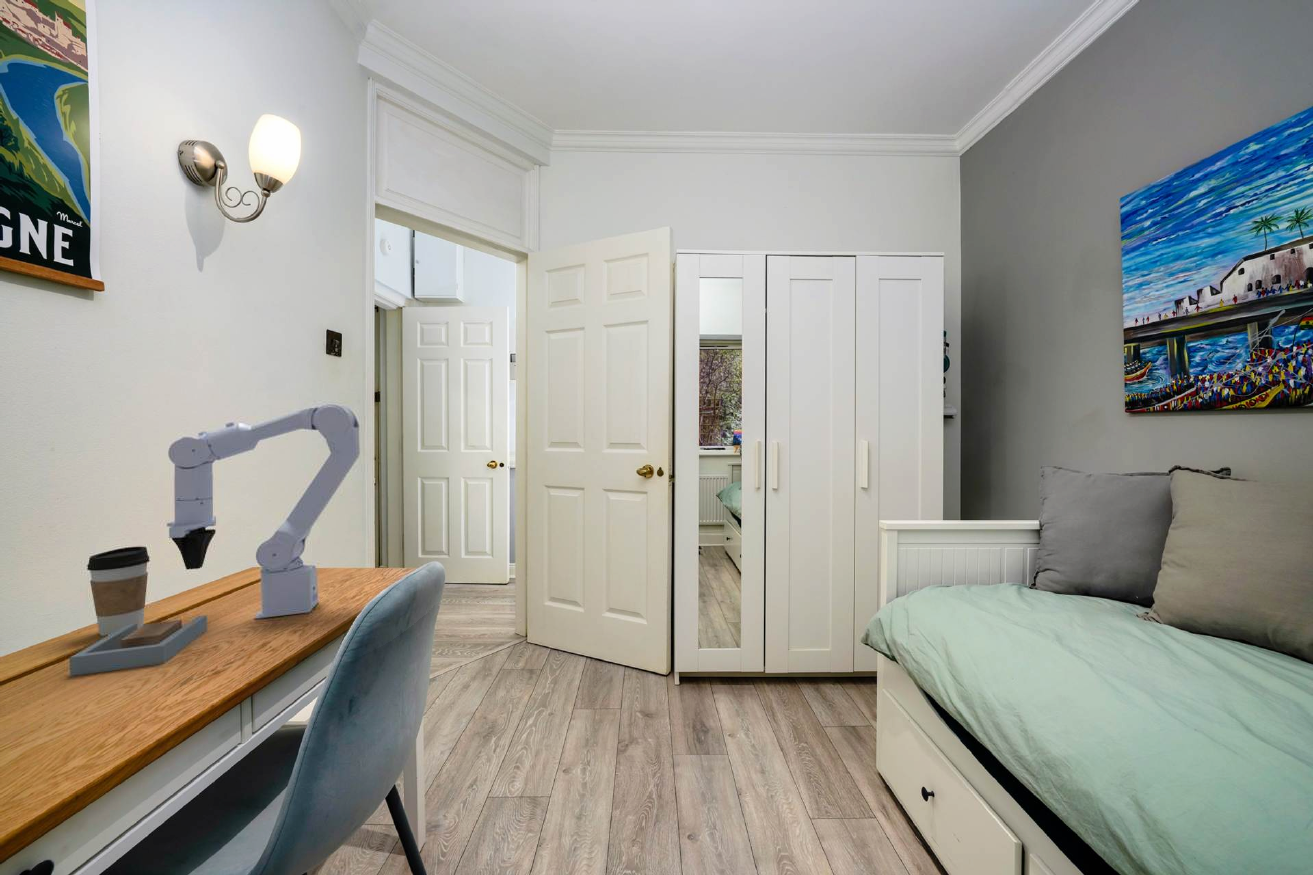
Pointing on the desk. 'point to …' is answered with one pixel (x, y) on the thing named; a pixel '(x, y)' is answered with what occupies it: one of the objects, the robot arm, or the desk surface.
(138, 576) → the coffee cup
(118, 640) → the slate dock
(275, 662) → the desk surface
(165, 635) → the walnut block
